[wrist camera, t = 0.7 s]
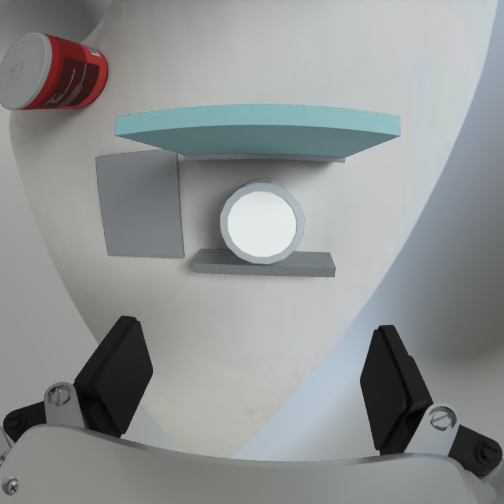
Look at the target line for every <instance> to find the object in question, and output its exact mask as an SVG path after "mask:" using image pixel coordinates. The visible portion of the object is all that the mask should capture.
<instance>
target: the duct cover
mask: <svg viewBox="0 0 504 504" xmlns="http://www.w3.org/2000/svg"><path fill="white" fill-rule="evenodd" d="M115 136H119V137H123V138H126V139H130V140H134V141H137V142H141V143H145V144H148V145H152V146H155V147H159V148H162V149H165V150H169V151H172V152H175V153H179V154H182V155H200V154H297V155H318V156H333V157H348V156H350V155H353V154H355V153H358V152H360V151H363V150H365V149H368V148H370V147H373V146H376V145H378V144H381V143H383V142H386V141H389V140H391V139H394V138H396V137H399V136H401V129H400V116H396V115H390V114H383V113H377V112H370V111H362V110H354V109H344V108H334V107H322V106H306V105H281V104H240V105H215V106H200V107H187V108H177V109H168V110H159V111H151V112H144V113H138V114H131V115H125V116H119V117H116V125H115Z"/></svg>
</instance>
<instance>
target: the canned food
mask: <svg viewBox="0 0 504 504" xmlns="http://www.w3.org/2000/svg"><path fill="white" fill-rule="evenodd" d="M107 78H108V64H107V61H106V59H105V58H104V56H103V55H102V54H101V53H100V52H99V51H98V50H96V49H93V48H90V47H87V46H84V45H81V44H78V43H75V42H72V41H69V40H65V39H62V38H58V37H54V36H51V35H47V34H43V33H29V34H26V35H24V36H22V37H21V38H19V39H18V40H17V41H16V42H15V43H14V44H13V45H12V46H11V48H10V49H9V50H8V52H7V53H6V55H5V57H4V59H3V61H2V63H1V66H0V103H1V104H2V106H3V107H5V108H6V109H9V110H30V109H76V108H81V107H83V106H85V105H88V104H90V103H91V102H93V101H94V100H95V99H96V98H97V97H98V96H99V95H100V93H101V92H102V90H103V89H104V87H105V84H106V82H107Z"/></svg>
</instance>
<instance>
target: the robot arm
mask: <svg viewBox="0 0 504 504" xmlns="http://www.w3.org/2000/svg"><path fill="white" fill-rule="evenodd" d="M152 374H153V367H152V363H151V360H150V357H149V353H148V350H147V346H146V343H145V339H144V335H143V332H142V328H141V324H140V322H139V321H137V319H136V318H135V317H130V316H121V317H120V318H119V319H118V321H117V322H116V323H115V325H114V326H113V327H112V329H111V330H110V331H109V333H108V334H107V335H106V337H105V338H104V339H103V341H102V342H101V344H100V345H99V346H98V348H97V349H96V350H95V352H94V353H93V355H92V356H91V357H90V359H89V360H88V362H87V363H86V364H85V366H84V367H83V369H82V370H81V372H80V373H79V374H78V376H77V377H76V379H75V382H74V384H73V385H71V384H69V383H66V382H59V383H56V384H53V385H52V386H50V387H49V388H48V389H47V391H46V393H45V395H44V401H42V402H39V403H36V404H33V405H30V406H27V407H24V408H21V409H17V410H14V411H12V412H10V413H9V414H8V415H7V416H6V417H5V419H4V421H3V427H1V426H0V504H504V459H503V458H502V449H501V447H500V445H499V444H498V443H497V442H496V441H494V440H492V439H490V438H488V437H486V436H484V435H481V434H479V433H477V432H475V431H473V430H471V429H468V428H466V427H464V426H462V425H460V416H459V413H458V412H457V410H456V409H455V408H454V407H452V406H451V405H449V404H445V403H436V404H434V403H433V401H432V398H431V396H430V394H429V391H428V389H427V387H426V385H425V382H424V380H423V378H422V376H421V374H420V371H419V369H418V367H417V365H416V363H415V361H414V359H413V358H412V356H409V355H408V353H407V351H406V349H405V347H404V344H403V343H402V340H401V338H400V336H399V334H398V332H397V330H396V329H395V327H394V326H393V325H382V326H379V327H378V329H377V330H374V333H373V336H372V340H371V343H370V347H369V351H368V354H367V358H366V361H365V364H364V368H363V371H362V374H361V378H360V385H361V389H362V393H363V397H364V401H365V406H366V409H367V414H368V418H369V422H370V427H371V432H372V437H373V441H374V446H375V449H376V450H379V451H380V456H372V457H364V458H353V459H340V460H327V461H299V462H298V461H295V462H294V461H292V462H290V461H287V462H285V461H255V460H240V459H229V458H220V457H211V456H204V455H197V454H190V453H184V452H178V451H173V450H168V449H163V448H158V447H153V446H149V445H145V444H141V443H137V442H132V441H129V440H125V439H121V438H120V437H121V435H122V434H125V433H126V431H127V429H128V427H129V424H130V422H131V420H132V418H133V416H134V414H135V411H136V409H137V407H138V405H139V403H140V400H141V398H142V396H143V394H144V392H145V390H146V387H147V385H148V383H149V381H150V379H151V377H152Z"/></svg>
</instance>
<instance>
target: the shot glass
mask: <svg viewBox="0 0 504 504" xmlns="http://www.w3.org/2000/svg"><path fill="white" fill-rule="evenodd" d="M304 225H305V218H304V215H303V212H302V209H301V206H300V204H299V202H298V201H297V200H296V198H295V197H294V196H293V195H292V194H291V192H290V191H289V190H288V189H287V188H286V187H285V186H284V185H283V184H282V183H281V182H279V181H276V180H274V179H272V178H260V179H257V180H254V181H252V182H249V183H248V184H246V185H244V186H243V187H241V188H239V189H238V190H237V191H236V192H235V193H234V194H233V195H232V196H231V197H230V198H229V199H228V200H227V201H226V203H225V205H224V208H223V210H222V213H221V215H220V229H221V234H222V236H223V238H224V240H225V243H226V245H227V246H228V247H229V248H230V249H231V250H232V251H233V252H234V253H235V254H236V255H237V256H238V257H240V258H242V259H244V260H247V261H249V262H251V263H259V264H271V263H274V262H277V261H280V260H283V259H285V258H286V257H287V256H289V255H290V254H291V253H292V252H293V251H295V250H296V249H297V247H298V245H299V243H300V241H301V239H302V237H303V235H304Z"/></svg>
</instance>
